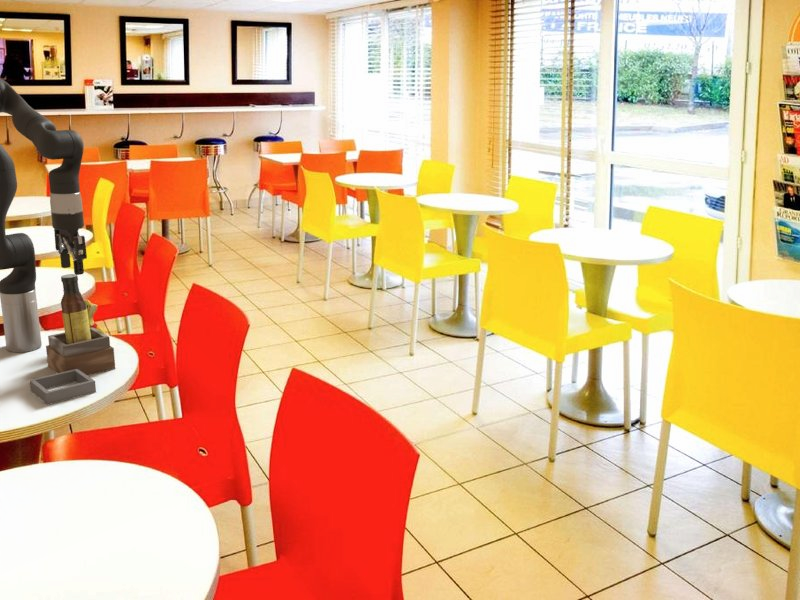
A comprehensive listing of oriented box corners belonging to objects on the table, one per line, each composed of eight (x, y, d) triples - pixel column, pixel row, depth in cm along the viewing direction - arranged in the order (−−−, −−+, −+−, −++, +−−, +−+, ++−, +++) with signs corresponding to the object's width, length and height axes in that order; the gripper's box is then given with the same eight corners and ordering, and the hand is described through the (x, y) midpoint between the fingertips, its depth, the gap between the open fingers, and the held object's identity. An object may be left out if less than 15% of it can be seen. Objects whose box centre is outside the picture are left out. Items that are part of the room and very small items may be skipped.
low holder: (30, 391, 194) (29, 380, 193) (78, 379, 202) (77, 368, 201) (47, 404, 186) (46, 393, 185) (96, 392, 194) (95, 381, 193)
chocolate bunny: (70, 347, 224) (65, 298, 220) (110, 345, 227) (105, 296, 223) (66, 355, 218) (61, 305, 214) (107, 353, 221) (103, 303, 216)
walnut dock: (48, 366, 209) (44, 335, 207) (95, 355, 218) (92, 325, 216) (67, 380, 201) (63, 348, 198) (115, 368, 209) (112, 337, 207)
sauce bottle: (96, 343, 211) (88, 273, 205) (85, 351, 205) (77, 279, 199) (73, 342, 211) (65, 272, 205) (61, 350, 205) (53, 278, 199)
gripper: (41, 207, 199) (47, 267, 204) (63, 215, 190) (69, 278, 194) (70, 204, 204) (75, 263, 209) (93, 212, 195) (98, 274, 199)
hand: (72, 270), depth 202 cm, fingers open, 8 cm apart
